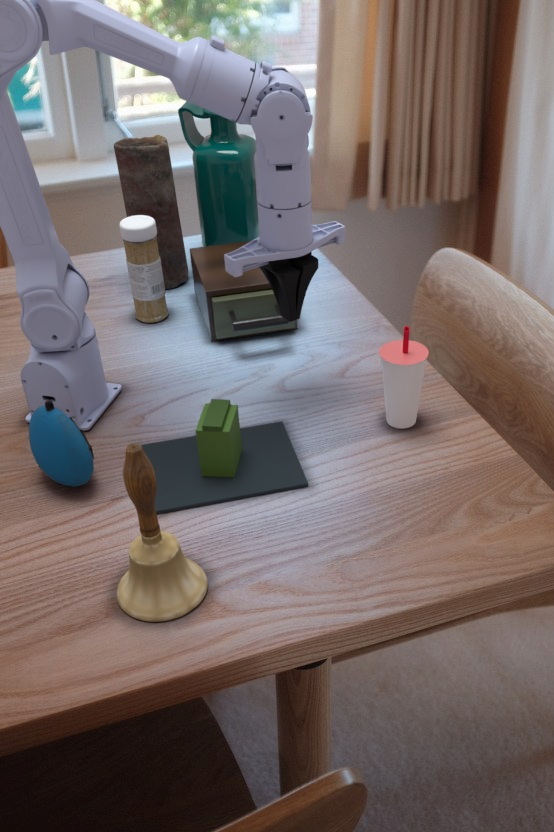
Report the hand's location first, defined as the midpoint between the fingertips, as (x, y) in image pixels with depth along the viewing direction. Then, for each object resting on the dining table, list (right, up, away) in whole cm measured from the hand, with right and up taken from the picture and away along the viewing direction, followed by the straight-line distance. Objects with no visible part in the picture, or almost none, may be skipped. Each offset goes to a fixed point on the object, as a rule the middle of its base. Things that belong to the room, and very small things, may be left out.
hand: (290, 317), depth 104 cm
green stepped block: (-7, -17, -6) cm, 19 cm away
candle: (-20, +12, +29) cm, 37 cm away
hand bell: (-11, -30, -20) cm, 37 cm away
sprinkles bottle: (-20, +4, +20) cm, 29 cm away
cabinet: (-7, +5, +21) cm, 23 cm away
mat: (-7, -17, -6) cm, 20 cm away
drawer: (-6, +4, +18) cm, 19 cm away
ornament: (-23, -19, -7) cm, 31 cm away
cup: (+13, -12, 0) cm, 17 cm away
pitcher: (-11, +17, +35) cm, 41 cm away
